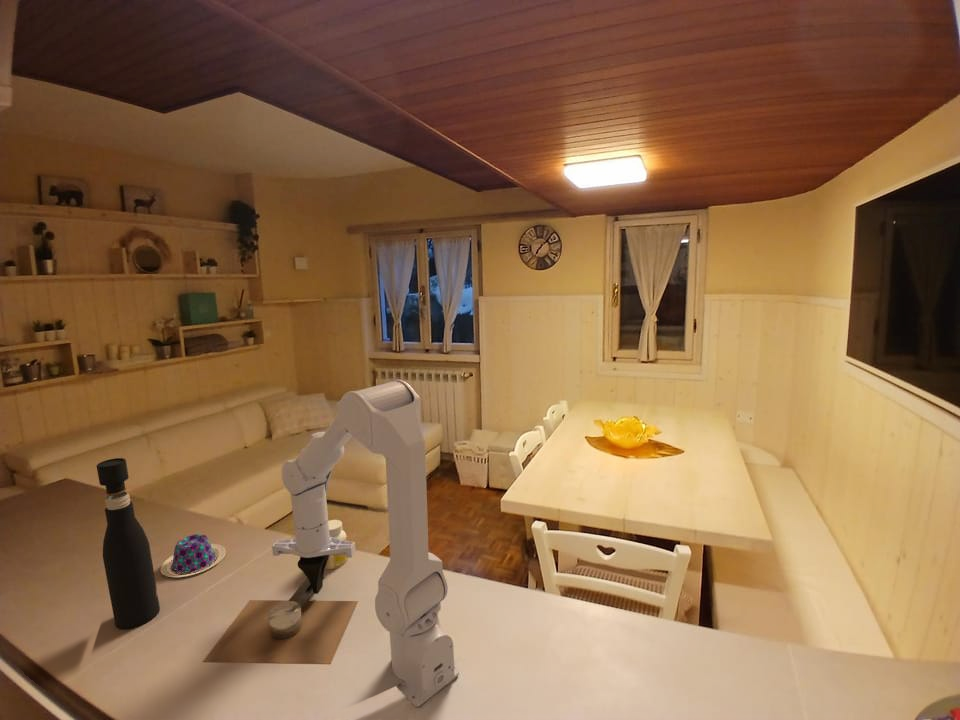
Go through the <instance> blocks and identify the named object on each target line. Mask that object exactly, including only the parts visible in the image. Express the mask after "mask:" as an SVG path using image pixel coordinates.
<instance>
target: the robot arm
mask: <svg viewBox="0 0 960 720" xmlns="http://www.w3.org/2000/svg"><path fill="white" fill-rule="evenodd" d="M421 417H422V416H421V398H420V396H419V395H418V393H416V391H415V389H413V387H411V385H410V384H409V383H408V382H406V381H404V380H403V379H394V380H391V381H389V382H386V383H383V384H382V383H381V384H379V385H374V386H371V387H368V388H363V389H359V390H350V391H348V392H345V393H344V394H343V395H342V397H341V399H340V400H339V401H338V402H337V403H336V415H335V416H334V417H333V419H332V420H331V422H330V424H329V426H328V428H326V430H325V431H318V432H315V433H311V435H310V436H309V437H308V439H309V442H307V443H306V445H305V446H304V448H301V450H300V451H299V455H297V457H296V458H295V459H289V460H288V459H287V460H285V461H284V462H283V464H282V466H281V472H280V473H281V480H282V483H283V485H284V488H285V489H286V490H287V492H289V494H290V499H291V507H292V508H291V509H292V518H293V519H292V520H293V527H294V538H288V539H277V540H276V541H275V542H274V543H273V544H272V546H271V550H272V556H274V557H279V556H280V555H281V554H282V555H283V554H284V555H293V556H297V557H299V560H298V561H297V567H298V569H299V570H301V571H302V572H303V574H304V575H305V577H306V578H308V580H309V582H310V584H311V586H312V588H313V593H312V594H317V595H319V593H320V592H321V590H322V588H323V585H324V584H323V582H324V580H323V575H325V570H326V568H325V567H326V564H327V561H328V558H329V556H330V555H346V557H347V558H348V559H351V558H353V557H354V555H355V554H356V541H348V540H347V541H344V540H340V539H337V538H333V537H330V534H329V523H328V521H329V514H328V504H327V502H328V501H327V493H328V492H329V490H330V489H329V483H330V480H331V477H332V469H333V468H335V466H336V465H337V464H338V463H339V461H341V459H342V458H343V456H344V454H345V445H346V443H348V442H349V441H350V440H351V439H352V438H354V439H356V440H357V441H358V442H359V443H361V445H363V446H364V447H365V449H368V451H370V452H371V453H372V454H376V455H382V456H383V458H384V459H385V472H386V473H385V474H386V475H385V476H386V492H387V493H386V495H387V496H386V497H387V512H388V513H387V515H388V516H387V517H388V537H389V539H388V541H389V542H388V543H389V556H390V557H389V558H390V559H389V562H388V563H387V565H386V567H385V568H384V570H383V572H382V573H381V575H380V577H379V579H378V582H377V585H378V587H377V589H378V590H377V593H376V596H375V598H374V599H375V600H374V610H375V614H376V617H377V619H378V622H379V623H380V625H381V626H382V627H383V629H385V630H386V631H387V632H389V643H390V645H389V646H390V657H391V660H390V661H391V669H392V673H394V675H395V676H396V677H397V678H398V679H400V680H402V681H403V682H401V683H399V684H397V685H395V687H396V688H397V689H398V690H399V691H400V692H401V693H402V694H403V695H404V697H406V698H407V699H408V700H409V701H410V702H411V703H412V704H413V705H414V707H420V706H422V705H423V704H424V703H426V702H427V701H428V700H429V699H430V698H432V697H433V696H434V695H436V694H437V693H438V692H439V691H441V690H442V689H443V688H444V687H446V685H448V684H449V683H451V682H452V681H453V680H455V678H457V677H458V676H459V675H460V673H459V670H458V669H457V668H456V667H455V656H454V655H455V652H454V641H453V639H452V636H451V635H449V634H448V633H447V632H446V630H445V629H444V627H443V626H442V624H441V622H440V618H439V612H440V611H441V607H442V606H441V603H442V601H444V600H445V599H446V597H447V595H448V587H449V586H448V582H447V579H446V577H445V574H444V570H443V569H444V568H443V561H442V560H441V559H440V558H439V557H438V556H437V555H435V554H434V553H432V552H430V551H429V531H428V530H429V528H428V524H429V523H428V496H427V493H428V492H427V463H426V461H427V457H426V443H425V438H424V435H423V430H422V426H421V425H422V420H421Z"/></svg>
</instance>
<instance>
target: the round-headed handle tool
mask: <svg viewBox="0 0 960 720" xmlns="http://www.w3.org/2000/svg"><path fill="white" fill-rule="evenodd" d="M324 580H325V574H324V575H323V581H324ZM313 594H314V593H313V588H312V586H311V584H310V582H309V580H308V578H307V577H306V578H305V580H304V581H303V582H302V583H301V585H300V586H299V587H298V588H297V590H295V592H294V593H293V594H292V595H291V597H290V598H289V599H288V600H289V601H287V602H283V603H280V604H278V605H276V606H275V607H273V608H272V609H271V610H270V612H269V614H268V620H269V629H270V634H271V636H272V637H274V638H277V639H283V638H287V637H290V636H292V635H294V634H295V633H297V632H298V631H299V630H300V628H301V627H302V616H301V608H302V606H303V605H304V604H305V602H306V601H309V598H310V597H311V596H312V595H313Z"/></svg>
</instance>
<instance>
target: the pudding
mask: <svg viewBox="0 0 960 720" xmlns="http://www.w3.org/2000/svg"><path fill="white" fill-rule="evenodd" d="M213 548H214V549H215V548H216V549H218V551H219V557H218V559H217V560H216V561H215V563H213V561H214V559H216V558H215V557H216V556H217V555H216V553H215V552H214V551H213ZM225 555H226V549H225V546H223V545H220V544H215V543H210V541H209V539H208V537H207V535H205V534H200V533H196V534H193V535H192V534H191V535H187V536H185V537H184V538H181V539H180V540H178V541H177V542H176V544H175V547H174V551H173V555H171V556H169V558H166V560H165V561H164V562H163V563H162V565H161V567H160V573H161V574H162V575H164V576H165V577H169V578H184V577H189V576H193V575H197V574H199V573H203V572H205V571H208V570H209V569H210V568H212V567H214V566H216V565H217V564H218V563H220V562H221V561H222V560H223V558H224V557H225ZM171 560H173V563H172V567H171V570H172V569H173V570H175V569H176V571H175V573H176V572H178V574H183V573H182V572H185V571H188V572H191V573H192V571H195V570H197V571H198V569H199V568H200V569H202V568H201V567H205V566H207V565H208V566H209V564H210V562H211V563H213V564H212V565H211V566H210V567H208V568H206V569H204V570H202V571H199V572H196V573H192V574H187V575H173V574H170V573H169V572H168V571H167V565H168V564H169V562H171ZM212 560H213V561H212ZM200 569H199V570H200ZM173 570H172V571H173ZM179 572H181V573H179ZM188 572H187V573H188ZM185 573H186V572H185Z"/></svg>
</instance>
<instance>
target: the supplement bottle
mask: <svg viewBox="0 0 960 720" xmlns="http://www.w3.org/2000/svg"><path fill="white" fill-rule="evenodd" d="M328 523H329V534H330V537H333V538H337V539H340V540H344V541H348V540H347V534H346V533H347V532H345V531H344V530H343V522H342V521H341V520H339V519H331V520H328ZM348 560H349V558H347V557H346V555H330V556H329V558H328V561H327V564H326V567H325V570H326V569H327V570H333V569H337V568H338V569H339V568H340V567H342V566H344V565H346V563H348Z"/></svg>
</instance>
